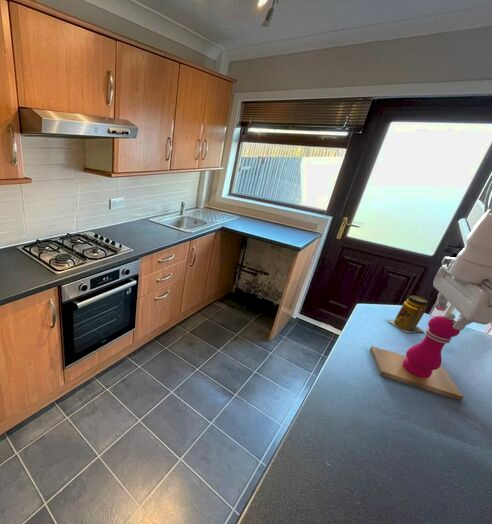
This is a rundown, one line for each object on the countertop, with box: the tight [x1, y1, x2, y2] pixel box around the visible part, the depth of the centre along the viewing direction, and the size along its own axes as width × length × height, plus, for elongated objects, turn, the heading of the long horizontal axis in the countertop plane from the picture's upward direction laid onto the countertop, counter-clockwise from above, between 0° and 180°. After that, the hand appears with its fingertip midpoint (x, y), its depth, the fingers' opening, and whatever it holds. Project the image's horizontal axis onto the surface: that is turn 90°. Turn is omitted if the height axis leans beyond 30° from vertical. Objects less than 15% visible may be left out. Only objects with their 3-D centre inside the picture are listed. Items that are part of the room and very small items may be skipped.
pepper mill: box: [402, 312, 461, 378], centre depth 78 cm, size 7×7×20 cm
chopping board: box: [369, 345, 464, 401], centre depth 83 cm, size 18×12×2 cm, turn 65°
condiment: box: [387, 295, 429, 334], centre depth 102 cm, size 7×8×12 cm
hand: (447, 318), depth 74 cm, fingers open, 8 cm apart
